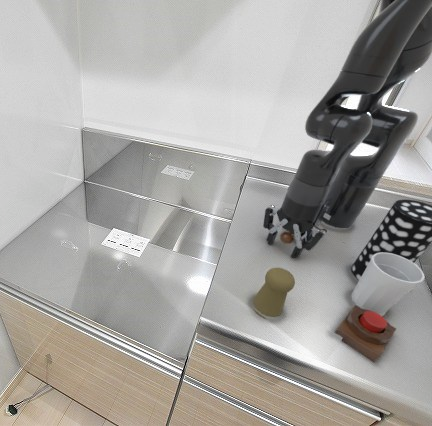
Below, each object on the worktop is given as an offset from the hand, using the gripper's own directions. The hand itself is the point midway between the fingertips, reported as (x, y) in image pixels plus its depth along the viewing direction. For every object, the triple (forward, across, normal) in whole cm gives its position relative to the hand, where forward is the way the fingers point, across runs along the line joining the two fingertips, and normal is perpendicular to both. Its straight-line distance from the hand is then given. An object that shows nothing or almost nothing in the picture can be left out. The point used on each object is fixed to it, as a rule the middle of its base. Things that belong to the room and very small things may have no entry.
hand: (281, 249), depth 77 cm
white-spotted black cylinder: (+1, -18, -8) cm, 19 cm away
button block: (+1, -22, +10) cm, 24 cm away
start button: (-3, -22, +10) cm, 24 cm away
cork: (+1, -7, +19) cm, 21 cm away
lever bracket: (+1, 0, -11) cm, 11 cm away
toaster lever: (-6, 0, -6) cm, 8 cm away
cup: (+1, -20, +1) cm, 20 cm away
